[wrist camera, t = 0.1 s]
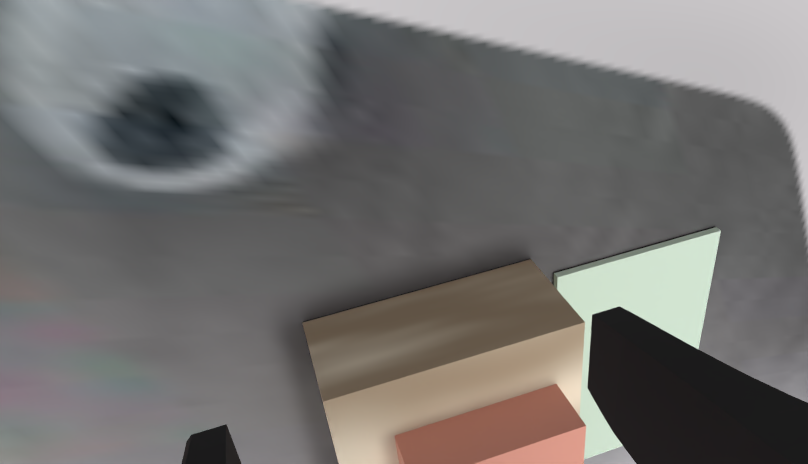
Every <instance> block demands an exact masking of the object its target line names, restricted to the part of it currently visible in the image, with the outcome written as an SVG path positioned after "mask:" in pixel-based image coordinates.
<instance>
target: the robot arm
mask: <svg viewBox="0 0 808 464" xmlns="http://www.w3.org/2000/svg"><path fill="white" fill-rule="evenodd" d="M587 388H588V390H589V392H590V394H591V395H592V397H593V399H594V401H595V402H596V404H597V406H598V408H599V410H600V411H601V413H602V415H603V416H604V418H605V420H606V421H607V423H608V425H609V426H610V428H611V430H612V431H613V433H614V434H615V436H616V437H617V438H618V440H619V441H620V442H621V444H622V445H623V446H624V448H625V449H626V450H627V452H628V453H629V454H630V456H631V457H632V458H633V460H634V461H635V462H636V463H637V464H808V403H807V402H804V401H802V400H800V399H798V398H795V397H793V396H791V395H788V394H786V393H784V392H782V391H780V390H778V389H776V388H774V387H771V386H769V385H767V384H765V383H763V382H761V381H759V380H757V379H754V378H752V377H750V376H748V375H746V374H744V373H742V372H740V371H738V370H736V369H734V368H732V367H731V366H729V365H727V364H725V363H723V362H721V361H719V360H717V359H715V358H713V357H711V356H710V355H708V354H706V353H704V352H702V351H700V350H698V349H697V348H695V347H693V346H691V345H689V344H687V343H686V342H684V341H682V340H680V339H678V338H677V337H675V336H673V335H671V334H669V333H667V332H666V331H664V330H662V329H660V328H659V327H657V326H655V325H653V324H651V323H650V322H648V321H646V320H644V319H642V318H641V317H639V316H637V315H635V314H633V313H631V312H630V311H628V310H626V309H624V308H622V307H620V306H619V307H616V308H612V309H609V310H606V311H602V312H599V313H596V314H592V325H591V340H590V355H589V371H588V386H587ZM182 464H241V461H240V459H239V456H238V454H237V451H236V448H235V446H234V443H233V441H232V438H231V435H230V433H229V430H228V427H227V425H223V426H220V427H216V428H213V429H210V430H206V431H203V432H200V433H196V434H193V435H191V436H190V438H189V439H188V440H187V443H186V447H185V452H184V456H183V460H182Z"/></svg>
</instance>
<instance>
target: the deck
mask: <svg viewBox="0 0 808 464" xmlns="http://www.w3.org/2000/svg"><path fill="white" fill-rule="evenodd" d="M302 324H303V328H304V331H305V335H306V339H307V343H308V347H309V351H310V355H311V359H312V363H313V366H314V370H315V374H316V378H317V382H318V386H319V390H320V394H321V398H322V402H323V405H324V409H325V413H326V417H327V421H328V425H329V429H330V433H331V437H332V440H333V444H334V448H335V452H336V456H337V460H338V464H399V459H398V454H397V448H396V442H395V437H394V436H395V435H398V434H401V433H404V432H407V431H411V430H414V429H417V428H420V427H423V426H426V425H429V424H432V423H436V422H439V421H442V420H445V419H448V418H451V417H454V416H457V415H460V414H464V413H467V412H470V411H473V410H476V409H479V408H482V407H485V406H489V405H492V404H495V403H498V402H501V401H504V400H507V399H510V398H513V397H517V396H520V395H523V394H526V393H529V392H532V391H535V390H538V389H542V388H545V387H548V386H551V385H554V384H557V385H558V387H559V388H560V389H561V391H562V392H563V394H564V395H565V396H566V398H567V399H568V401H569V402H570V404H571V405H572V406H573V408H574V409H575V411H576V412H577V413H578V415H579V416H580V400H581V383H582V366H583V349H584V331H585V322H584V320H583V319H582V318H581V317H580V316H579V315H578V313H577V312H576V311H575V310H574V309H573V308H572V306H571V305H570V304H569V303H568V302H567V301H566V299H565V298H564V297H563V296H562V295H561V294H560V293H559V291H558V290H557V289H556V288H555V287H554V286H553V284H552V283H551V282H550V281H549V280H548V279H547V277H546V276H545V275H544V274H543V273H542V272H541V270H540V269H539V268H538V267H537V266H536V265H535V263H534V262H533V261H532V260H531V259H530V260H526V261H523V262H519V263H515V264H512V265H508V266H505V267H501V268H497V269H494V270H490V271H487V272H483V273H479V274H476V275H472V276H469V277H465V278H461V279H458V280H454V281H451V282H447V283H443V284H440V285H436V286H433V287H429V288H425V289H422V290H418V291H415V292H411V293H407V294H404V295H400V296H397V297H393V298H389V299H386V300H382V301H379V302H375V303H371V304H368V305H364V306H361V307H357V308H353V309H350V310H346V311H343V312H339V313H336V314H332V315H328V316H325V317H321V318H318V319H314V320H310V321H307V322H303V323H302Z"/></svg>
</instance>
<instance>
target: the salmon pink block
mask: <svg viewBox="0 0 808 464" xmlns="http://www.w3.org/2000/svg"><path fill="white" fill-rule="evenodd" d="M585 436H586V425H585V423H584V422H583V420H582V419H581V418H580V416H579V415H578V413H577V412H576V411H575V409H574V408H573V406H572V405H571V404H570V402H569V401H568V399H567V398H566V396H565V395H564V394H563V392H562V391H561V389H560V388H559V387H558V385H557V384H554V385H551V386H548V387H545V388H542V389H538V390H535V391H532V392H529V393H526V394H523V395H520V396H517V397H513V398H510V399H507V400H504V401H501V402H498V403H495V404H492V405H489V406H485V407H482V408H479V409H476V410H473V411H470V412H467V413H464V414H460V415H457V416H454V417H451V418H448V419H445V420H442V421H439V422H436V423H432V424H429V425H426V426H423V427H420V428H417V429H414V430H411V431H407V432H404V433H401V434H398V435H395V436H394V437H395V442H396V448H397V454H398V459H399V464H584V451H585Z"/></svg>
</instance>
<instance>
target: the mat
mask: <svg viewBox="0 0 808 464" xmlns="http://www.w3.org/2000/svg"><path fill="white" fill-rule="evenodd" d="M720 232H721V230H719V229H718V228H716V227H715V228H711V229H708V230H704V231H701V232H697V233H694V234H690V235H687V236H683V237H680V238H676V239H672V240H669V241H665V242H662V243H658V244H655V245H651V246H648V247H644V248H641V249H637V250H634V251H630V252H627V253H623V254H620V255H616V256H613V257H609V258H606V259H602V260H599V261H595V262H592V263H588V264H585V265H581V266H578V267H574V268H571V269H567V270H564V271H560V272H557V273H554V287H555V288H556V289H557V290H558V291H559V293H560V294H561V295H562V296H563V297H564V298H565V299H566V301H567V302H568V303H569V304H570V305H571V306H572V308H573V309H574V310H575V311H576V312H577V313H578V315H579V316H580V317H581V318H582V319H583V320H584V322H585V331H584V349H583V366H582V383H581V400H580V418H581V419H582V420H583V422H584V423H585V425H586V436H585V451H584V459H587V458H590V457H593V456H595V455H598V454H601V453H604V452H607V451H610V450H613V449H616V448H618V447H621V446H623V445H622V444H621V442H620V441H619V440H618V438H617V437H616V436H615V434H614V433H613V431H612V430H611V428H610V426H609V425H608V423H607V421H606V420H605V418H604V416H603V415H602V413H601V411H600V410H599V408H598V406H597V404H596V402H595V401H594V399H593V397H592V395H591V394H590V392H589V390H588V388H587V386H588V371H589V355H590V340H591V325H592V314H596V313H599V312H602V311H606V310H609V309H612V308H616V307H619V306H620V307H622V308H624V309H626V310H628V311H630V312H631V313H633V314H635V315H637V316H639V317H641V318H642V319H644V320H646V321H648V322H650V323H651V324H653V325H655V326H657V327H659V328H660V329H662V330H664V331H666V332H667V333H669V334H671V335H673V336H675V337H677V338H678V339H680V340H682V341H684V342H686V343H687V344H689V345H691V346H693V347H695V348H697V349H698V348H699V343H700V338H701V332H702V327H703V322H704V317H705V311H706V306H707V301H708V296H709V290H710V285H711V280H712V274H713V269H714V264H715V259H716V253H717V248H718V243H719V238H720Z"/></svg>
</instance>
